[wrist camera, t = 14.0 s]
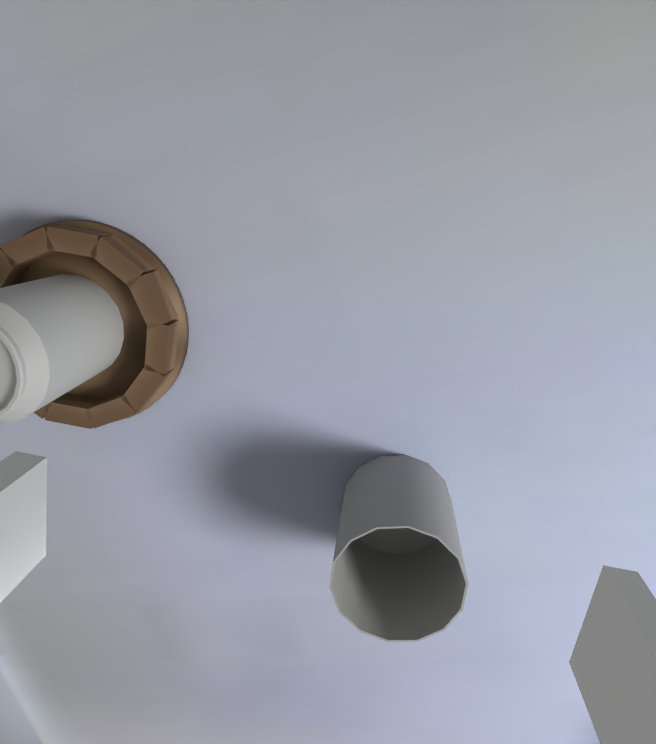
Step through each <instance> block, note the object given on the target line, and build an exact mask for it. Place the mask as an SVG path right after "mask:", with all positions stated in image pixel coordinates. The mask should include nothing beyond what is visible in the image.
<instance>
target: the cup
mask: <svg viewBox="0 0 656 744" xmlns="http://www.w3.org/2000/svg"><path fill="white" fill-rule="evenodd" d="M467 587H468V581H467V576H466V571H465V566H464V561H463V556H462V551H461V546H460V541H459V536H458V531H457V526H456V521H455V516H454V511H453V506H452V501H451V498H450V495H449V492H448V488H447V485H446V482H445V480H444V479H443V478H442V477H441V476H440V475H439V474H438V473H437V472H436V471H435V470H434V469H433V468H432V467H431V466H430V465H429V464H428V463H426V462H423V461H421V460H418V459H415V458H412V457H410V456H407V455H389V456H379V457H377V458H375V459H373V460H371V461H369V462H367V463H365V464H363V465H362V466H360V467H358V469H357V470H356V471H355V473H354V474H353V475H352V477H351V478H350V479H349V481H348V482H347V484H346V485H345V491H344V497H343V503H342V510H341V516H340V522H339V528H338V534H337V541H336V547H335V553H334V559H333V566H332V574H331V581H330V590H331V593H332V595H333V598H334V600H335V603H336V605H337V608H338V611H339V613H340V614H342V615H343V616H344V617H345V618H346V619H347V620H348V621H349V622H350V623H351V624H352V625H353V626H354V627H356V628H357V629H358V630H359V631H360V632H363V633H365V634H368V635H371V636H373V637H376V638H379V639H381V640H384V641H387V642H412V641H420V640H422V639H425V638H427V637H429V636H432V635H434V634H436V633H439V632H441V631H444V630H445V629H446V628H447V627H448V625H449V624H450V623H451V622H452V621H453V620H454V619H455V618H456V617H457V615H458V614H459V613H460V612H461V611H462V610H463V605H464V601H465V596H466V592H467Z"/></svg>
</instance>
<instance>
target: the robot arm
mask: <svg viewBox="0 0 656 744" xmlns="http://www.w3.org/2000/svg"><path fill="white" fill-rule="evenodd" d="M46 495H47V457H43V456H38V455H33V454H27V453H22V452H17V451H16V452H14V453H13V454H11V455H10V456H8V457H7V458H5V459H4V460H2V461H1V462H0V602H1V601H2V600H3V599H4V598H5V597H6V596H7V595H8V594H9V593H10V592H11V591H12V590H13V589H14V588H15V587H16V586H17V585H18V584H19V583H20V582H21V581H22V580H23V579H24V578H25V577H26V575H27V574H28V573H29V572H30V571H31V570H32V569H33V568H34V567H35V566H36V565H37V564H38V563H39V562H40V561H41V560H42V559H43V558H44V557H45V556H46ZM569 663H570V665H571V668H572V671H573V673H574V676H575V678H576V681H577V684H578V686H579V689H580V691H581V694H582V697H583V699H584V702H585V704H586V707H587V710H588V712H589V715H590V717H591V720H592V723H593V725H594V728H595V730H596V733H597V736H598V738H599V741H600V743H601V744H656V599H655V598H654V596H653V594H652V593H651V591H650V590H649V588H648V587H647V585H646V584H645V582H644V581H643V579H642V578H641V576H640V575H639V573H638V572H635V571H629V570H624V569H619V568H614V567H609V566H604V565H603V568H602V571H601V574H600V576H599V579H598V582H597V585H596V588H595V591H594V593H593V596H592V599H591V602H590V605H589V608H588V610H587V613H586V616H585V619H584V622H583V625H582V627H581V630H580V633H579V636H578V639H577V642H576V644H575V647H574V650H573V653H572V656H571V659H570V661H569Z"/></svg>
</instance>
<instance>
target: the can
mask: <svg viewBox="0 0 656 744" xmlns="http://www.w3.org/2000/svg"><path fill="white" fill-rule="evenodd" d="M123 340H124V329H123V321H122V318H121V315H120V312H119V310H118V307H117V305H116V304H115V302H114V301H113V300H112V298H111V297H110V296H109V294H108V293H107V292H106V291H105V290H104V289H102V288H101V287H100V286H98V285H97V284H96V283H95V282H93V281H91V280H88V279H86V278H83V277H81V276H78V275H67V274H60V275H56V276H51V277H47V278H43V279H38V280H34V281H29V282H25V283H21V284H16V285H12V286H7V287H3V288H0V424H5V423H10V422H14V421H18V420H22V419H23V418H25V417H27V416H28V415H30V414H32V413H33V412H35V411H37V410H38V409H40V408H42V407H43V406H45V405H47V404H48V403H50V402H52V401H53V400H55V399H57V398H58V397H60V396H62V395H63V394H65V393H67V392H69V391H70V390H72V389H74V388H75V387H77V386H79V385H80V384H82V383H84V382H85V381H87V380H89V379H90V378H92V377H94V376H95V375H97V374H99V373H100V372H102V371H103V370H105V369H106V368H108V367H109V366H111V365H112V364H113V362H114V361H115V359H116V358H117V357H118V355H119V354H120V351H121V347H122V344H123Z"/></svg>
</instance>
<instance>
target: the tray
mask: <svg viewBox="0 0 656 744" xmlns="http://www.w3.org/2000/svg"><path fill="white" fill-rule="evenodd" d="M60 274H67V275H78V276H81V277H83V278H86V279H88V280H91V281H93V282H95V283H96V284H97V285H98V286H100V287H101V288H102V289H104V290H105V291H106V292H107V293H108V294H109V296H110V297H111V298H112V300H113V301H114V302H115V304H116V305H117V307H118V310H119V312H120V315H121V318H122V321H123V329H124V340H123V344H122V347H121V351H120V354H119V355H118V357H117V358H116V359H115V361H114V362H113V364H112V365H111V366H109V367H108V368H106V369H105V370H103V371H102V372H100V373H99V374H97V375H95V376H94V377H92V378H90V379H89V380H87V381H85V382H84V383H82V384H80V385H79V386H77V387H75V388H74V389H72V390H70V391H69V392H67V393H65V394H63V395H62V396H60V397H58V398H57V399H55V400H53V401H52V402H50V403H48V404H47V405H45V406H43V407H42V408H40V409H38V410H37V411H35V412H34V413H35V414H37V415H38V416H39V417H41V418H44V417H45V420H48V421H53V422H58V423H64V424H69V425H74V426H79V427H85V428H90V429H91V428H92V427H93V428H97V427H100V426H103V425H105V424H108V423H111V422H114V421H118V420H122V419H126V418H129V417H132V416H134V415H136V414H139V413H141V412H142V411H144V410H145V409H147V408H149V407H150V406H151V405H153V404H154V403H155V402H156V401H157V400H159V399H160V398H161V397H162V396H163V395H164V394H165V393H166V392H167V391H168V390H169V389H170V387H171V386H172V385H173V383H174V382H175V380H176V379H177V377H178V375H179V373H180V371H181V369H182V367H183V364H184V360H185V357H186V354H187V347H188V335H189V327H188V318H187V313H186V308H185V304H184V301H183V298H182V296H181V293H180V290H179V288H178V286H177V284H176V282H175V280H174V278H173V277H172V275H171V274H170V272H169V271H168V269H167V268H166V266H165V265H164V264H163V263H162V261H161V260H160V259H159V258H158V257H157V256H156V254H154V253H153V252H152V251H151V250H150V249H149V248H148V247H147V246H146V245H145V244H143V243H142V242H140V241H139V240H137V239H136V238H135V237H133V236H131V235H130V234H128V233H126V232H124V231H122V230H120V229H117V228H115V227H112V226H110V225H107V224H102V223H98V222H94V221H84V220H75V221H59V222H54V223H49V224H45V225H43V226H40V227H37V228H35V229H33V230H31V231H29V232H27V233H25V234H24V235H22V236H21V237H20V238H17V239H15V240H13V241H10V242H8V243H6V244H4V245H1V248H0V288H3V287H7V286H12V285H16V284H21V283H25V282H29V281H34V280H38V279H43V278H47V277H51V276H56V275H60Z"/></svg>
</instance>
